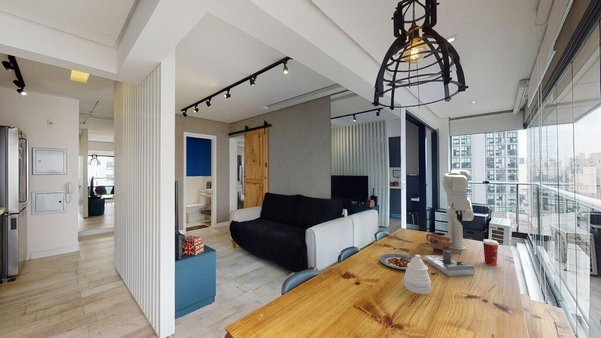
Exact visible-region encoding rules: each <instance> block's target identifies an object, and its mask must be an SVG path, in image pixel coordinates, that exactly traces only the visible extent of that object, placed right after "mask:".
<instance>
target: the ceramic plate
mask: <svg viewBox="0 0 601 338" xmlns="http://www.w3.org/2000/svg"><path fill="white" fill-rule="evenodd" d="M393 257H395V258H393ZM414 257H415V256H412V255H408V254H403V253H385V254H382V255H381V256H379V260H380V262H381V263H382V264H384V265H386V266H388V267H391V268H394V269H397V270H398V269H399V270H406V269H407V268H401V267H407V264H408V263H410V261H411V260H412V258H414ZM388 258H391V259H388ZM397 258H400V259H397ZM387 259H388V263H387V262H386V260H387ZM408 260H410V261H408ZM390 263H392V264H393V265H394V264H395V265H396V266H399V267H396V266H392V265H389V264H390Z"/></svg>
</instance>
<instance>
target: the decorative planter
mask: <svg viewBox="0 0 601 338" xmlns="http://www.w3.org/2000/svg"><path fill="white" fill-rule="evenodd" d="M425 236H426V237H425V238H426V240H427V241H428V242H429V243H430V245H431V246H432V249H433V251H434V252H435V253H436V254H440V255H443V250H448V251H450V248H449V247H450V246H452V245H453V243H452V241H451V239H450V237H449V236H448V233H447V234H446V233H443V232H439V231H435V232H432V233H427V234H426V235H425ZM429 237H430V238H429Z"/></svg>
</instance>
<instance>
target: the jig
mask: <svg viewBox="0 0 601 338" xmlns="http://www.w3.org/2000/svg"><path fill="white" fill-rule="evenodd" d="M423 261H424V262H426V261H427V263H428V264H429V263H430V264H429V265H431V266H433V267H434V268H435V269H437V270H439V271H440V272H442V273H444V274H445V275H446V276H449V277H455V276H457V277H459V276H475V265H474V264H466V263H465V262H464V261H460V260H459V261H458V260H457V259H455V258H453V257H451V264H445V263H443V254H433V255H431V254H430V255H427V254H426V255H423Z"/></svg>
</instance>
